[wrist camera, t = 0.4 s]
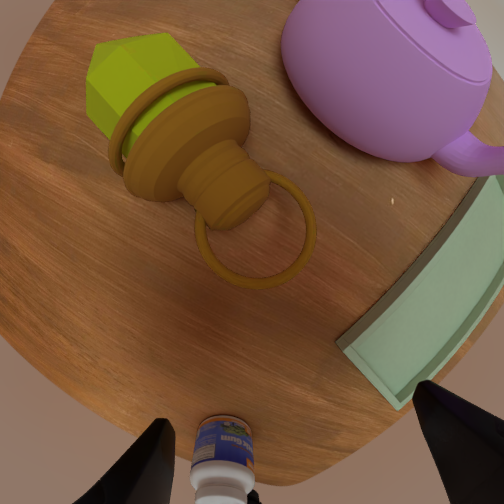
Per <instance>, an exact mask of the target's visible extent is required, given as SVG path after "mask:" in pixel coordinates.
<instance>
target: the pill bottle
mask: <svg viewBox="0 0 504 504" xmlns="http://www.w3.org/2000/svg"><path fill="white" fill-rule="evenodd" d="M190 482H191V485H192V486H193V487H194V489H195V490H197V491H196V493H195V504H247V494H248V493H249V492H250V491H251V490H252V489H253V487H254V485H255V474H254V460H253V445H252V433H251V430H250V428H249V426H248V425H247V424H246V423H245V422H244V421H242V420H240V419H238V418H236V417H232V416H226V415H220V416H214V417H210V418H208V419H206V420H204V421H203V422H202V423H201V424H200V426H199V428H198V430H197V436H196V442H195V448H194V454H193V459H192V465H191V471H190Z"/></svg>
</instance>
